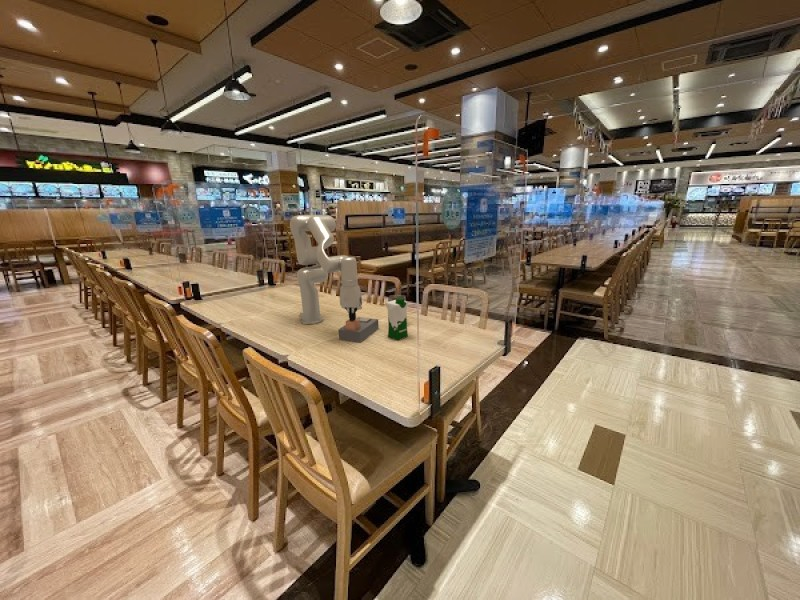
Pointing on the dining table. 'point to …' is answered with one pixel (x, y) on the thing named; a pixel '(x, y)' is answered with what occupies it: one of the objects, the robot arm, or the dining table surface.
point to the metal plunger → (365, 320)
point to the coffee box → (393, 297)
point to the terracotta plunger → (352, 324)
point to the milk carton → (397, 318)
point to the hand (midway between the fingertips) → (352, 320)
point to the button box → (359, 331)
